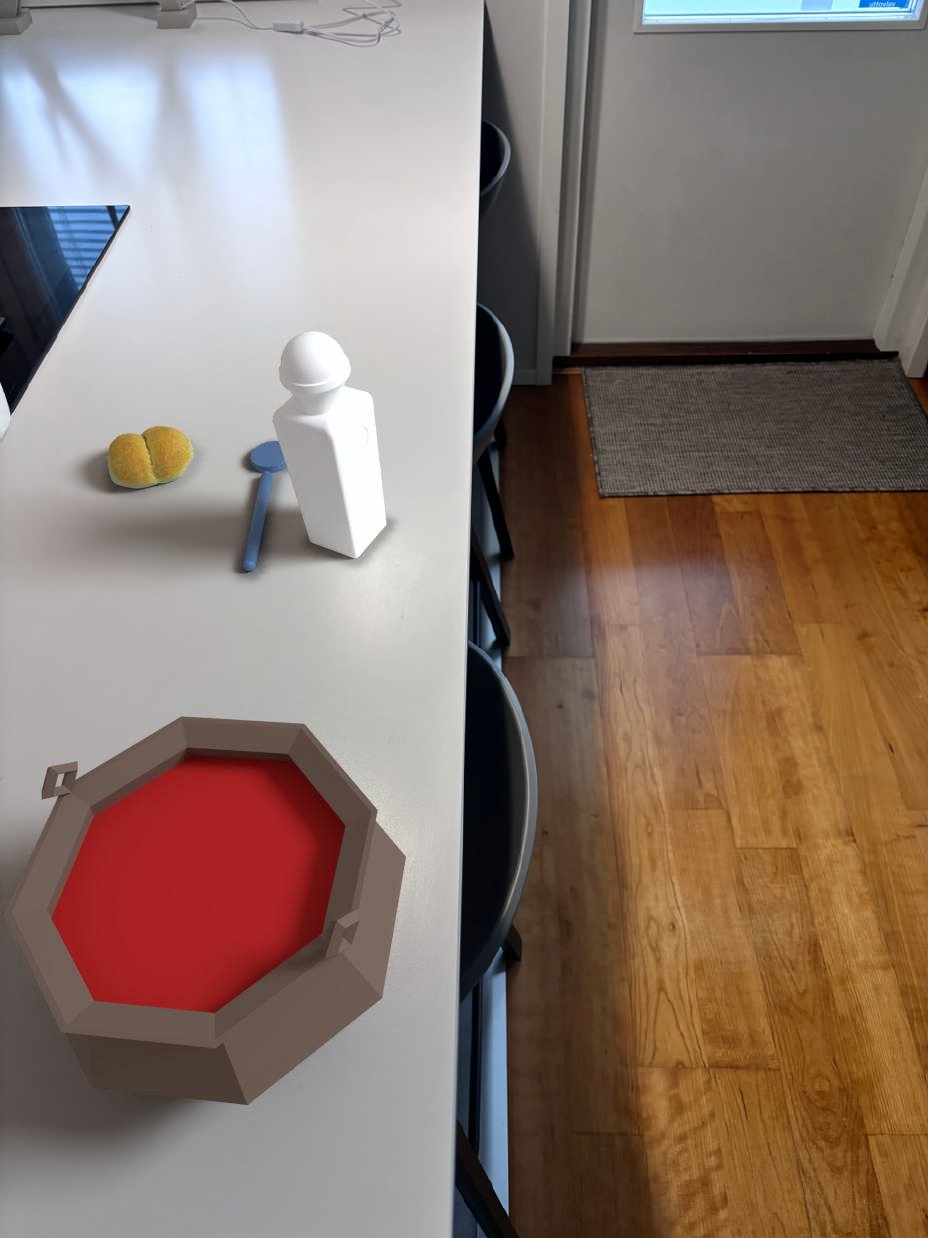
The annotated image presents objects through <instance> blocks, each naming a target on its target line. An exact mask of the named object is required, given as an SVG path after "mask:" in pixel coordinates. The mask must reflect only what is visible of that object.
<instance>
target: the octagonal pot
mask: <svg viewBox="0 0 928 1238" xmlns="http://www.w3.org/2000/svg"><path fill="white" fill-rule="evenodd" d="M78 771H79V762H78V760H75V761H71V762H66V763H60V764H56V765H50V766H48V767H47V769H46V773H45V776H44V780H43V784H42V788H41V800H47V799H52V798H55V797H56V800H55V802H54V804H53V807H52V809H51V811H50V813H49V815H48V818H47V820H46V822H45V824H44V827H43V829H42V831H41V833H40V835H39V837H38V840H37V842H36V844H35V847H34V849H33V851H32V853H31V855H30V857H29V860H28V861H27V864H26V866H25V868H24V871H23V873H22V875H21V877H20V879H19V882H18V883H17V886H16V888H15V891H14V893H13V894H12V898H11V899H10V901H9V904H8V906H7V908H6V910H5V913H4V917H5V919H6V921H7V923H8V925H9V927H10V929H11V932H12V933H13V935H14V937H15V939H16V942H17V944H18V946H19V948H20V950H21V952H22V955H23V956H24V958H25V960H26V962H27V964H28V966H29V969H30V971H31V972H32V974H33V976H34V978H35V981H36V983H37V985H38V987H39V989H40V991H41V994H42V995H43V997H44V999H45V1002H46V1003H47V1005H48V1008H49V1009H50V1012H51V1014H52V1016H53V1018H54V1021H55V1022H56V1025H57V1027H58V1028H59V1030H60V1033H64V1034H65V1036H66V1038H67V1040H68V1042H69V1044H70V1046H71V1048H72V1050H73V1052H74V1054H75V1056H76V1058H77V1061H78V1063H79V1065H80V1066H81V1069H82V1071H83V1073H84V1076H85V1077H86V1079H87V1082H88V1083H89V1086H90V1087H91V1088H92V1089H99V1090H109V1091H116V1092H126V1093H127V1092H128V1093H136V1094H145V1095H154V1096H161V1097H162V1096H163V1097H169V1098H171V1097H172V1098H180V1099H187V1100H197V1101H198V1100H199V1101H207V1102H217V1103H223V1104H234V1105H242V1106H243V1105H244V1106H248V1105H250V1104H251V1103H252V1102H254V1101H255V1100H256V1099H258V1098H259V1097H260V1096H261V1095H263V1094H264V1093H265V1092H266V1091H267V1090H269V1089H270V1088H271V1087H272V1086H274V1085H275V1084H276V1083H278V1082H279V1081H280V1080H281V1079H283V1078H284V1077H285V1076H286V1075H288V1074H289V1073H290V1072H292V1071H293V1070H294V1069H295V1068H296V1067H297V1066H299V1065H300V1064H301V1063H303V1062H304V1061H305V1060H307V1059H308V1058H309V1057H311V1056H312V1055H313V1054H314V1053H316V1051H318V1050H319V1049H321V1048H322V1047H323V1046H324V1045H325V1044H327V1043H328V1042H329V1041H331V1040H332V1039H333V1038H334V1037H335V1036H336V1035H338V1034H339V1033H341V1031H343V1030H344V1029H346V1028H347V1027H348V1026H349V1025H350V1024H352V1023H353V1022H354V1021H356V1020H357V1019H358V1018H359V1017H360V1016H362V1015H363V1014H365V1012H367V1011H369V1009H371V1008H372V1007H373V1006H374V1005H376V1004H377V1003H378V1002H379V1001H381V1000H382V999H383V996H384V990H385V986H386V985H385V984H386V978H387V973H388V967H389V961H390V954H391V949H392V943H393V936H394V931H395V925H396V919H397V914H398V908H399V907H398V906H399V902H400V896H401V889H402V883H403V878H404V873H405V872H404V871H405V868H406V867H405V866H406V860H407V856H406V854H405V853H404V852H403V851H402V850H401V848H400V847H399V846H398V845H397V844H396V843H395V842H394V841H393V839H392V838H391V837H390V835H388V833H387V832H386V831H385V830H384V829H383V827H382V826H381V824H379V823H378V821H377V817H378V813H379V810H378V809H377V807H376V806H375V805H374V804H373V802H372V801H371V800H370V799H369V798H368V797H367V796H366V794H365V793H364V792H363V791H362V790H361V789H360V787H359V786H358V785H357V784H356V782H355V781H354V780H353V778H351V776H350V775H349V774H348V773H347V772H346V770H344V768H343V767H342V766H341V765H340V764H339V762H337V760H336V759H335V758H334V756H332V754H331V753H330V752H329V751H328V750H327V748H326V747H325V746H324V745H323V744H322V743H321V742H320V740H319V738H317V737H316V736H315V734H314V732H312V731H311V730H310V728H309V727H308V726H307V725H306V724H305V723H299V722H285V721H284V722H282V721H267V720H266V721H265V720H252V719H251V720H249V719H233V718H219V717H218V718H217V717H215V718H214V717H199V716H198V717H197V716H179V717H177V718H176V719H174V720H173V721H171V722H170V723H168V724H166V725H164V726H162V727H161V728H159V729H158V730H156V731H155V732H153V733H150V734H149V735H148V736H146V737H144V738H142V739H141V740H139V741H138V742H136V743H134V744H132V745H131V746H129V747H128V748H126V749H124V750H122V751H121V752H119V753H118V754H116V755H114V756H112V757H111V758H110V759H107V760H106V761H104V762H103V763H101V764H99V765H97V766H96V767H95V768H93V769H91V770H89V771H87V772H86V773H84V774H83V775H81V776H79V777H77V775H78ZM62 774H63V777H62V780H61V785H59V786H57V782H58V778H59V775H62Z"/></svg>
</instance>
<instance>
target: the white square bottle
mask: <svg viewBox="0 0 928 1238" xmlns="http://www.w3.org/2000/svg"><path fill="white" fill-rule="evenodd" d="M351 369H352V368H351V364H350V361H349V358H348V356H347V355H346V353H344V351H343V349H342V347H341V345H340V344H339V343H338V342H337V340H335V339H334V338H333V337H331V336H330V335H328V334H327V333H323V332H320V331H315V330H313V331H311V330H310V331H304V332H300V333H299V334H296V335H295V336H293V337H292V338H291V339H290V340H289V341H288V342H287V343H286V344H285V346H284V348H283V349H282V352H281V356H280V364H279V368H278V376H279V381H280V384H281V386H283V388H285V389H286V390H287V391H289V392H290V393H291V394H292V396H291V397H289V398H288V400H286V401H285V402H284V403H283V404H282V405H281V406H280V407H279V408H277V409H276V410H275V411H274V413H273V415H272V424H273V427H274V430H275V433H276V436H277V441H279V443H280V446H281V450H282V453H283V456H284V459H285V462H286V466H287V467H286V469H287V472H288V475H289V478H290V482H291V484H292V488H293V491H294V494H295V497H296V500H297V503H298V507H299V510H300V513H301V517H302V520H303V523H304V526H305V530H306V532H307V535H308V538H309V541H310V543H312V544H314V545H317V546H319V547H322V548H325V549H328V550H330V551H333V552H336V553H338V554H341V555H344V556H346V557H349V558H352V559H358V558H359V557H360V556H361V555H362V553H363V552H364V551H365V550H366V549H367V548H368V546H369V545H370V544H371V543H372V542H373V541H374V540H375V538H376V537H377V536H378V535H379V534H380V533H381V532H382V530H383V529H384V528H385V527H386V526H387V517H386V509H385V498H384V490H383V489H384V488H383V482H382V472H381V464H380V463H381V462H380V451H379V443H378V436H377V435H378V434H377V426H376V417H375V406H374V399H373V397H372V395H371V394H370V393H369V392H367V391H364V390H360V389H356V388H353V387H350V386H347V385H346V381H347V380H348V378H349V377H350V375H351V371H352V370H351Z"/></svg>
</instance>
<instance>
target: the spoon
mask: <svg viewBox="0 0 928 1238" xmlns="http://www.w3.org/2000/svg"><path fill="white" fill-rule="evenodd" d="M249 458H250V462H251V465H252V467H253V468H254V469H255V470H256V471H257V472H260V473H261V475H260V480H259V484H258V489H257V495H256V499H255V503H254V508H253V513H252V519H251V523H250V528H249V533H248V538H247V544H246V548H245V552H244V557H243V558H244V559H243V563H242V567H243V569H244V570H245V571H247V572H252V571H254V570H255V569H256V567H257V562H258V557H259V552H260V546H261V542H262V537H263V530H264V525H265V521H266V515H267V510H268V506H269V499H270V494H271V489H272V483H273V480H274V479H273V478H274V476H273V473H278V472H281V471H283V470H285V469H287V466H286V462H285V459H284V456H283V453H282V450H281V446H280V443H279V440H269V441H265V442H262V443H260V444H258V445H256V446H255V447H254V448H253V449H252V450H251V452H250V456H249Z"/></svg>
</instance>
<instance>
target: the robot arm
mask: <svg viewBox="0 0 928 1238" xmlns="http://www.w3.org/2000/svg"><path fill="white" fill-rule="evenodd" d="M11 419H12V418H11V411H10V407H9V404H8V401H7V398H6V394H5V392H4V389H3V386H2V384H1V383H0V445H1V444H2V443H3V441H4V440H5V438H6V435H7V433H8V431H9V428H10V425H11Z"/></svg>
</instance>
